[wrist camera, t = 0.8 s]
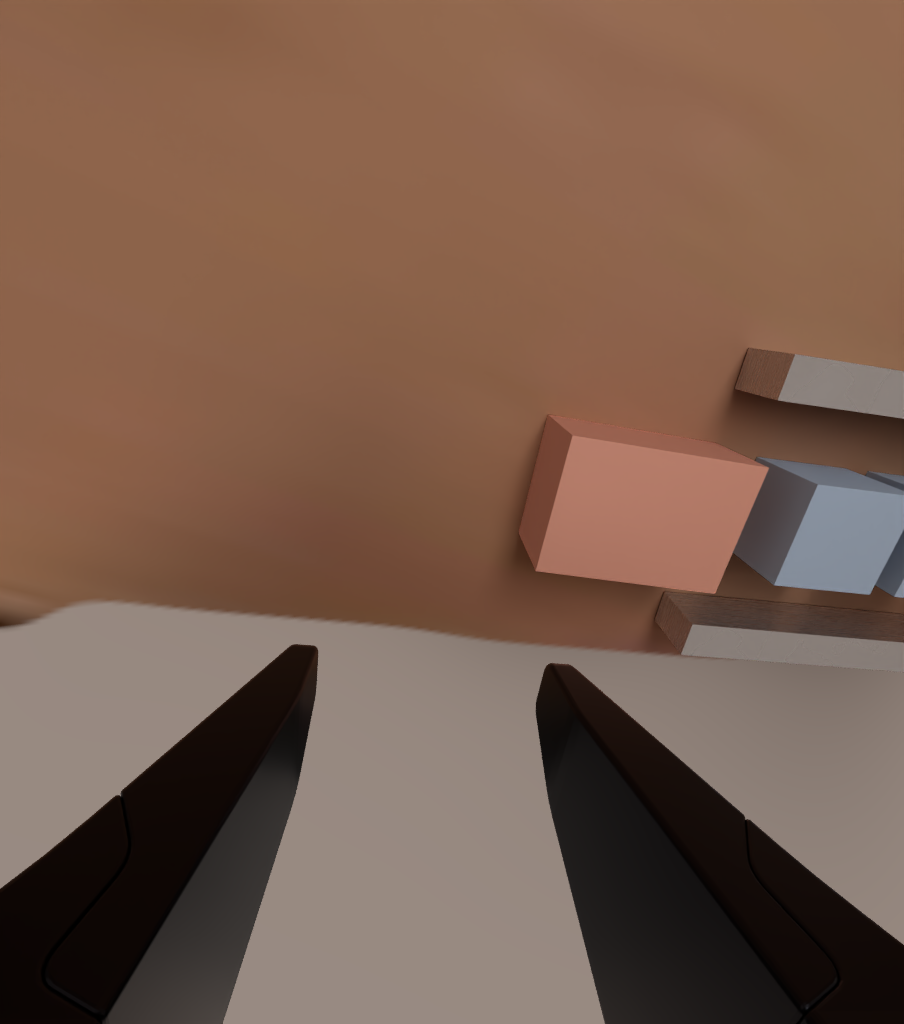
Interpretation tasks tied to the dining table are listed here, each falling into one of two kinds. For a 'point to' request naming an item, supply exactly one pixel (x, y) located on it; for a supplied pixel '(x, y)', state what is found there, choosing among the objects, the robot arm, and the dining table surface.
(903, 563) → the blue-grey cube
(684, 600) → the slot rails
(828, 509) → the blue cube
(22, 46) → the dining table surface
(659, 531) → the block
